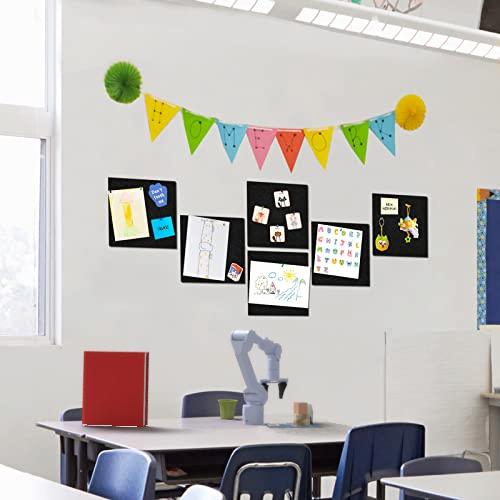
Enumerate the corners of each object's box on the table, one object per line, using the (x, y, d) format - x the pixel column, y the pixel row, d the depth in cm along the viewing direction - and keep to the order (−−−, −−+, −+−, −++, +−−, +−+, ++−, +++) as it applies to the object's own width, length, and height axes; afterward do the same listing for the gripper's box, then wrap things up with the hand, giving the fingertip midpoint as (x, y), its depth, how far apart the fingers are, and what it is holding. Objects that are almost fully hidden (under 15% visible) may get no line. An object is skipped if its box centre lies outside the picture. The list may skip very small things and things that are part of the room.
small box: (313, 412, 459) (311, 404, 450) (312, 424, 457) (311, 416, 447) (295, 411, 460) (294, 403, 451) (295, 423, 458) (293, 415, 449)
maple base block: (296, 426, 441) (296, 414, 441) (293, 424, 447) (293, 413, 447) (309, 426, 442) (309, 414, 442) (307, 424, 447) (307, 413, 448)
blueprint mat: (270, 429, 432) (270, 427, 432) (263, 425, 448) (263, 423, 448) (324, 428, 436) (324, 427, 436) (316, 425, 452) (316, 423, 452)
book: (147, 426, 437) (149, 351, 440) (143, 427, 429) (144, 352, 432) (86, 424, 441) (88, 350, 443) (80, 426, 433) (82, 351, 435)
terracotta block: (298, 414, 442) (298, 403, 443) (293, 413, 446) (293, 402, 447) (307, 414, 444) (307, 402, 445) (302, 413, 448) (302, 402, 449)
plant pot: (240, 418, 478) (241, 400, 478) (231, 420, 469) (232, 401, 470) (223, 417, 482) (223, 399, 482) (214, 419, 473) (214, 400, 474)
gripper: (263, 370, 457) (263, 400, 456) (291, 369, 463) (291, 399, 462) (256, 369, 463) (256, 399, 462) (284, 368, 469) (284, 397, 469)
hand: (273, 399), depth 463 cm, fingers open, 7 cm apart
